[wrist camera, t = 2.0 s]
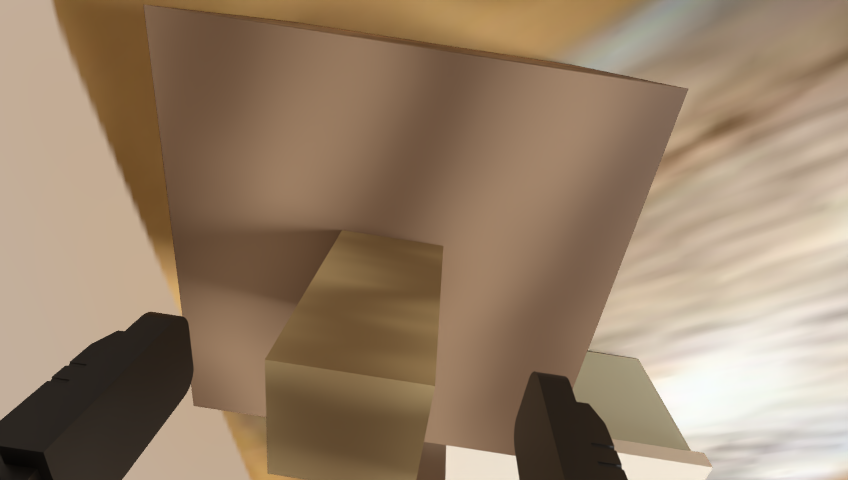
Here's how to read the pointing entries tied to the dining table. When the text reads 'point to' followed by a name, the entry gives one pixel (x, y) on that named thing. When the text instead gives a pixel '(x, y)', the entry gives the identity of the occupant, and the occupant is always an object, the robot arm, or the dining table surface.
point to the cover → (389, 229)
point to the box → (626, 401)
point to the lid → (498, 474)
